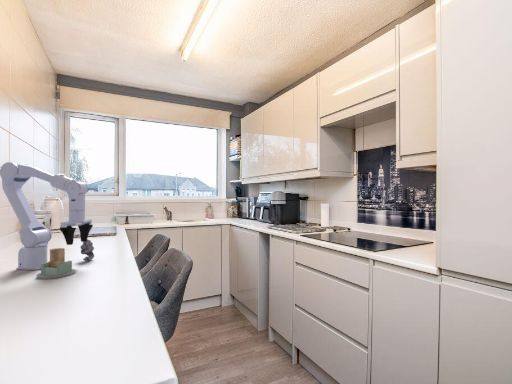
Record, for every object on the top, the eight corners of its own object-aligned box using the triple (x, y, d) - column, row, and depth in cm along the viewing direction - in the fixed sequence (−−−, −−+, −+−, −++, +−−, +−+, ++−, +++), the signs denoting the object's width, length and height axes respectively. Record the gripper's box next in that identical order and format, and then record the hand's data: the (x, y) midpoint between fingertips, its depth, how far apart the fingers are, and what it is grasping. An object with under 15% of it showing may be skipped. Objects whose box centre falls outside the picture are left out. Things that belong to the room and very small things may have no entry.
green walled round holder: (27, 278, 101) (27, 265, 101) (56, 269, 113) (56, 258, 113) (57, 279, 99) (57, 266, 99) (83, 270, 111) (83, 259, 111)
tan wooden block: (49, 273, 105) (49, 249, 105) (55, 271, 107) (55, 248, 107) (59, 273, 104) (59, 249, 104) (64, 272, 107) (64, 248, 107)
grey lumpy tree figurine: (89, 262, 126) (89, 239, 126) (78, 262, 126) (78, 239, 126) (96, 259, 131) (96, 237, 131) (85, 259, 131) (85, 237, 131)
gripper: (71, 211, 109) (71, 246, 109) (97, 209, 124) (97, 240, 124) (55, 211, 110) (55, 246, 110) (83, 209, 125) (83, 240, 125)
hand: (76, 243), depth 117 cm, fingers open, 7 cm apart
